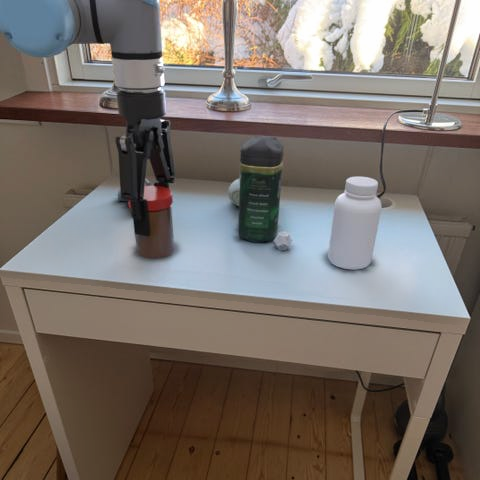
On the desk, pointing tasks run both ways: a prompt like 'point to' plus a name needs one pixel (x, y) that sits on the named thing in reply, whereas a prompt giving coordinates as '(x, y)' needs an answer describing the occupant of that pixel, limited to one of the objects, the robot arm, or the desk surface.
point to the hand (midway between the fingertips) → (153, 225)
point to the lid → (157, 197)
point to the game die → (282, 240)
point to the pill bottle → (355, 224)
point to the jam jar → (157, 235)
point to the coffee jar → (260, 188)
